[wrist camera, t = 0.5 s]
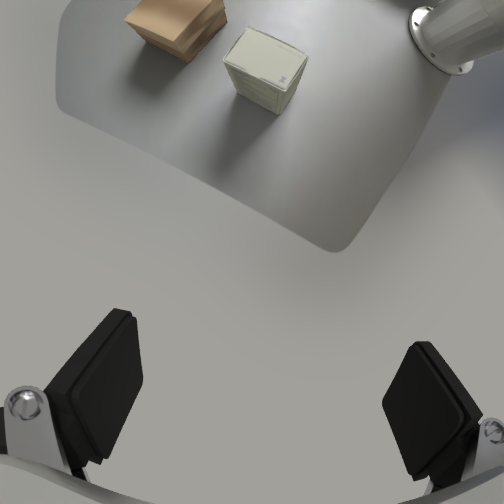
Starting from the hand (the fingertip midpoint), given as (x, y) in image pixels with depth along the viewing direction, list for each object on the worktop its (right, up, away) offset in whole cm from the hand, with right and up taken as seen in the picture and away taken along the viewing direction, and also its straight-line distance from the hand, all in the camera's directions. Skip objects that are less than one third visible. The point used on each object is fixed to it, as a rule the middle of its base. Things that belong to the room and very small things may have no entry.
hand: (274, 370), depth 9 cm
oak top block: (-10, +32, +16) cm, 37 cm away
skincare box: (+1, +23, +22) cm, 32 cm away
